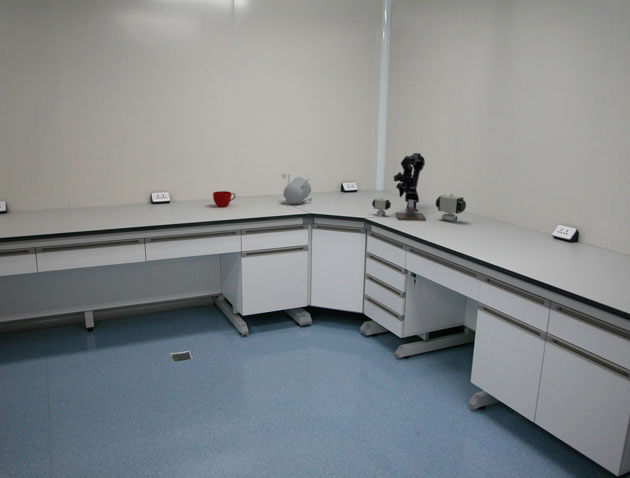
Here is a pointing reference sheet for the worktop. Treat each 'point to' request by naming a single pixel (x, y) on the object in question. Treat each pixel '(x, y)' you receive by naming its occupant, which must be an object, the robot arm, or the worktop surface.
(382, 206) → the pneumatic valve
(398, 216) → the post stand
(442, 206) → the ball valve
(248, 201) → the worktop surface
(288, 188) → the satellite
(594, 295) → the worktop surface
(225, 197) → the ceramic cup
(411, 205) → the steel post
